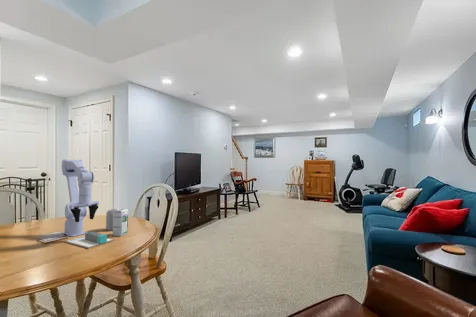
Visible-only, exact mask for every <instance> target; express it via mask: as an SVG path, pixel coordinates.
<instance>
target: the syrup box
mask: <svg viewBox="0 0 476 317" xmlns="http://www.w3.org/2000/svg"><path fill="white" fill-rule="evenodd" d="M116 209H117V208H116ZM128 234H129V209H128V208H118V209H117V210H113V231H112V236H114V237H122V236H125V235H128Z"/></svg>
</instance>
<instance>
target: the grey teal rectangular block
mask: <svg viewBox="0 0 476 317" xmlns="http://www.w3.org/2000/svg"><path fill="white" fill-rule="evenodd" d="M84 236H85V240H88V241H92V242H96V243H99V244H101V243H104V242H107V238H108V234H105V233H99V232H95V231H89V232H86V233H85V234H84Z"/></svg>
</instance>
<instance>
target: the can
mask: <svg viewBox="0 0 476 317" xmlns="http://www.w3.org/2000/svg"><path fill="white" fill-rule="evenodd" d="M113 210H117V208H114V209H108V210H107V211H106V217H105V219H106V220H105V229H106V231H108V232H109V231H111V232H113Z"/></svg>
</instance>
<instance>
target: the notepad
mask: <svg viewBox="0 0 476 317" xmlns="http://www.w3.org/2000/svg"><path fill="white" fill-rule="evenodd" d="M114 241H115V239H112V238H108V237H107V242H104V243H101V244H99V243H96V242H92V241H88V240H85V235H84V236H81V237H76V238H72V239H69V240H65V241H64V243H65V244H69V245H73V246H76V247H80V248H84V249H87V250H88V249H92V248H95V247H99V246H102V245H106V244H108V243H112V242H114Z"/></svg>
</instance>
